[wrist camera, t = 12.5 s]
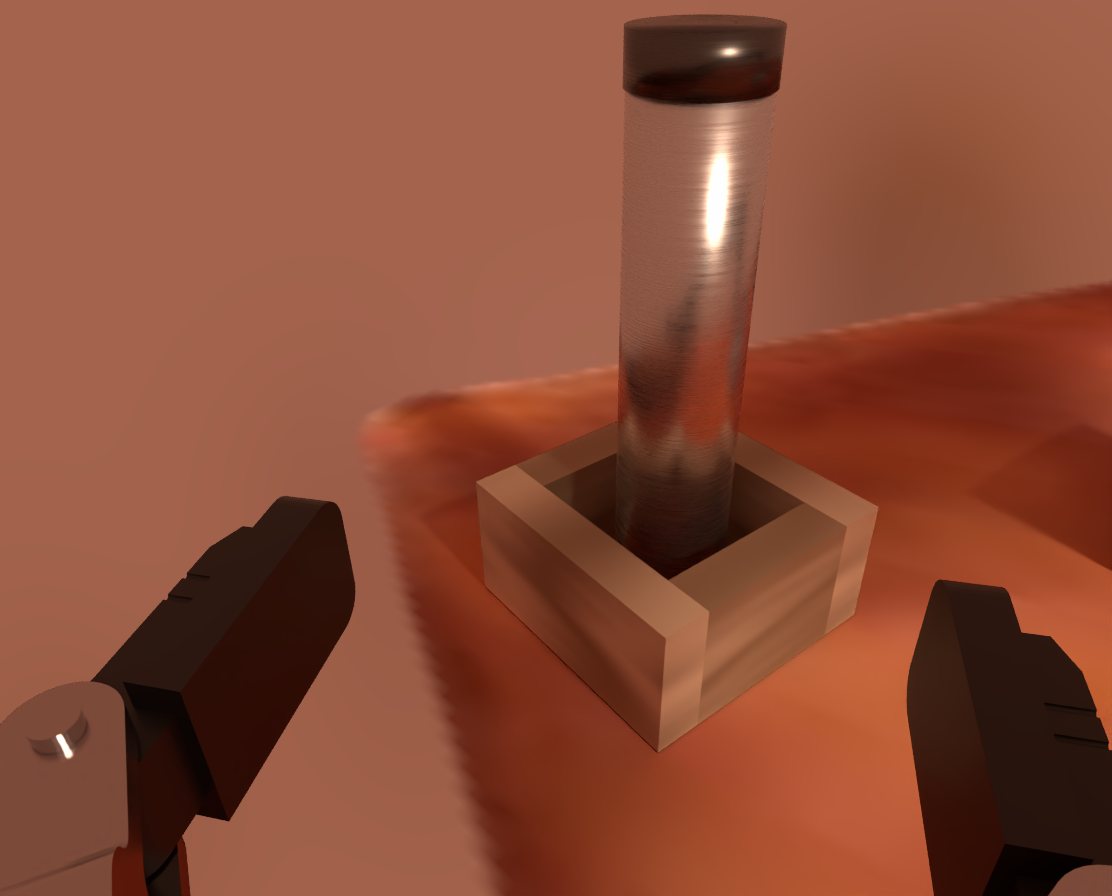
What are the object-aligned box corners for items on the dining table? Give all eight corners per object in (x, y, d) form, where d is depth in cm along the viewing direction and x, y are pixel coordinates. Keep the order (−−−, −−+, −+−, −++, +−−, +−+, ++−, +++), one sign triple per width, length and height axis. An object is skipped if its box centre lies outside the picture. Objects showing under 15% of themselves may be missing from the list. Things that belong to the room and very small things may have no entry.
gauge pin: (742, 607, 26) (821, 23, 17) (663, 658, 24) (705, 40, 16) (667, 552, 28) (703, 10, 19) (590, 595, 26) (591, 24, 18)
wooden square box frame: (854, 614, 26) (878, 506, 23) (658, 752, 22) (666, 638, 19) (669, 493, 31) (675, 396, 29) (484, 585, 27) (475, 481, 25)
